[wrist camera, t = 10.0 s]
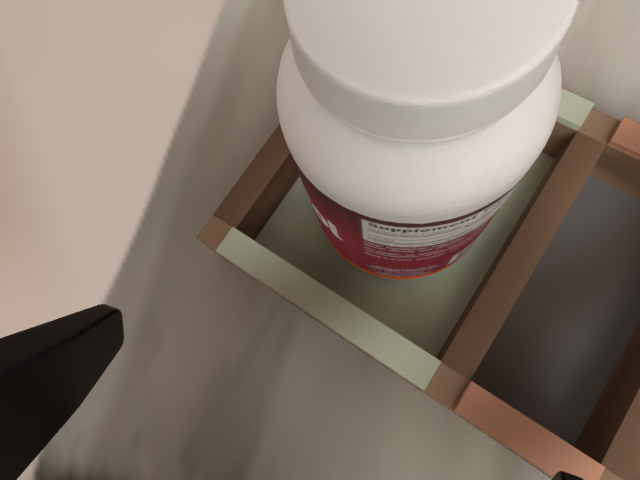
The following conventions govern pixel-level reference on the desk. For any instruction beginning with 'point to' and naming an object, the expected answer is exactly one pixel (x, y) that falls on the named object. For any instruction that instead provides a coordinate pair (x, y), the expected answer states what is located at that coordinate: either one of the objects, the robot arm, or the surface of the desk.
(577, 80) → the desk surface
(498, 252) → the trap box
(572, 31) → the desk surface
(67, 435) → the desk surface
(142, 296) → the desk surface
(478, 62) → the pill bottle
